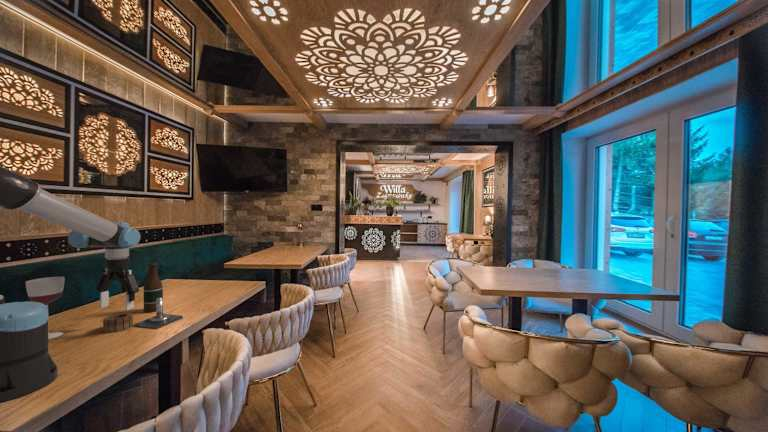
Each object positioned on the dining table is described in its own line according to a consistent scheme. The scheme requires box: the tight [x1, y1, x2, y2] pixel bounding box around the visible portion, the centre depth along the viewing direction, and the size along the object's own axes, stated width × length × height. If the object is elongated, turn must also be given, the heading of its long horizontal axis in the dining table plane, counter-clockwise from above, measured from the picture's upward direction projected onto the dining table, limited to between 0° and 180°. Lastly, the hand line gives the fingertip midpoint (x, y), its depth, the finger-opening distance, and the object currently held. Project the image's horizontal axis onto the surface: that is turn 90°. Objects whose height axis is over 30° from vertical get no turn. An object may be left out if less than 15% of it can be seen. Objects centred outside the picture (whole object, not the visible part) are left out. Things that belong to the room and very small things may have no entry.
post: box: [134, 297, 184, 330], centre depth 128 cm, size 12×12×11 cm
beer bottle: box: [143, 262, 164, 314], centre depth 143 cm, size 8×8×24 cm
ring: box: [102, 312, 134, 334], centre depth 121 cm, size 9×9×5 cm
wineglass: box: [25, 276, 66, 340], centre depth 113 cm, size 9×10×23 cm
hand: (117, 308), depth 121 cm, fingers open, 13 cm apart
